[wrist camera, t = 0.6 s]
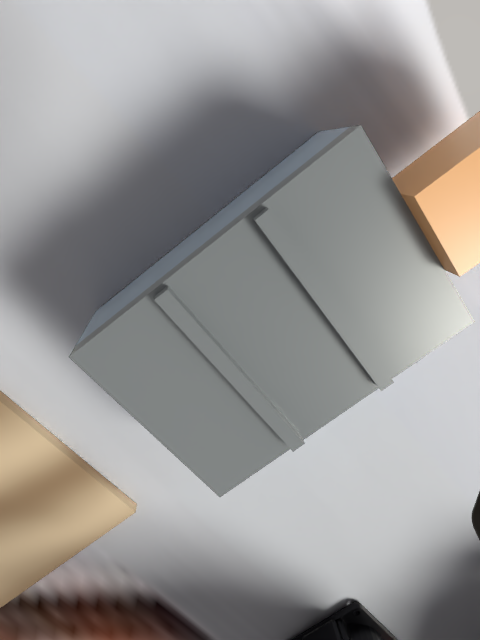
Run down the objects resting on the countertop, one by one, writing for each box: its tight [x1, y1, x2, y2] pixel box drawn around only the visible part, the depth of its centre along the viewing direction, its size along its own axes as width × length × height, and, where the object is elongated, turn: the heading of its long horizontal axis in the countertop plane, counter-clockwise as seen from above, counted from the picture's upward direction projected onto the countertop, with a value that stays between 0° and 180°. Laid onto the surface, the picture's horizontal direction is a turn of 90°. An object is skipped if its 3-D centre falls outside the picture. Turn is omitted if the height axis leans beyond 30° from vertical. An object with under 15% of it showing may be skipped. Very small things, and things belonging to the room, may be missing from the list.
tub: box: [76, 127, 349, 345], centre depth 19 cm, size 9×13×4 cm
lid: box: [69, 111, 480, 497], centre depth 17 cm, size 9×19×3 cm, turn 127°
